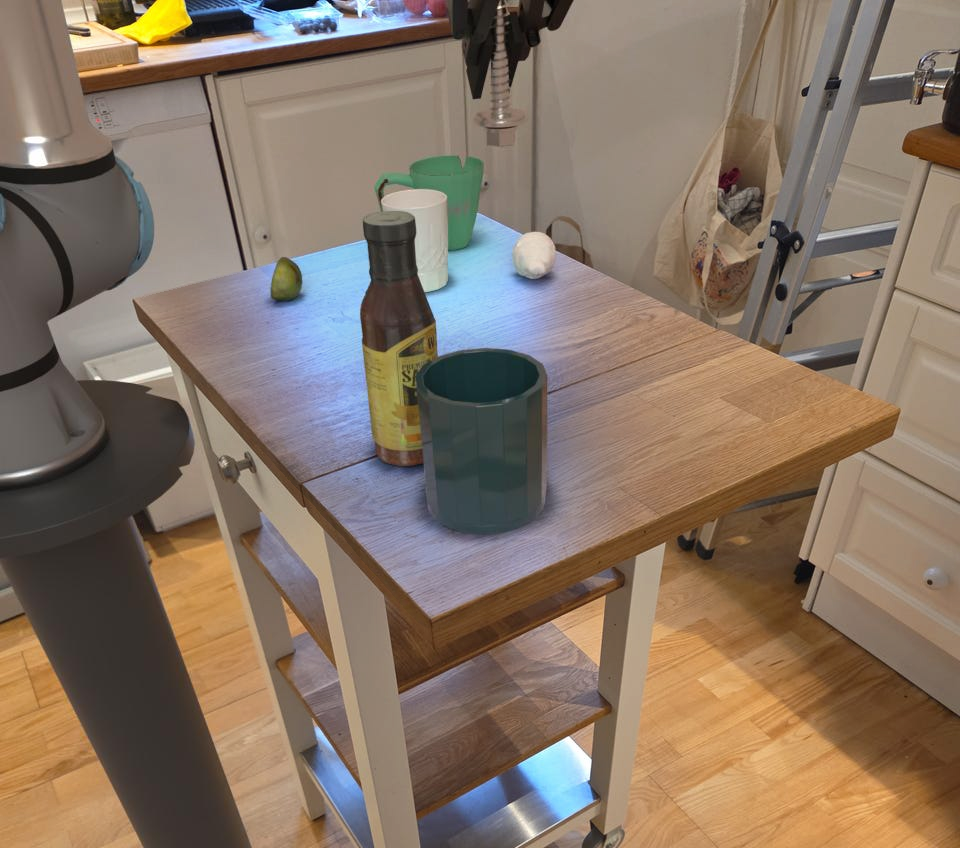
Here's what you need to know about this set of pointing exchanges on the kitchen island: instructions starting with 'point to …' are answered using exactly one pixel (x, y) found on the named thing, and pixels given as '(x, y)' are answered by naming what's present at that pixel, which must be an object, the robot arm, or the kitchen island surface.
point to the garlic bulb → (534, 255)
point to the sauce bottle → (395, 336)
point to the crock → (483, 438)
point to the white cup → (426, 232)
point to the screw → (500, 88)
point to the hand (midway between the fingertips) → (487, 83)
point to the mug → (445, 190)
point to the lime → (286, 280)
